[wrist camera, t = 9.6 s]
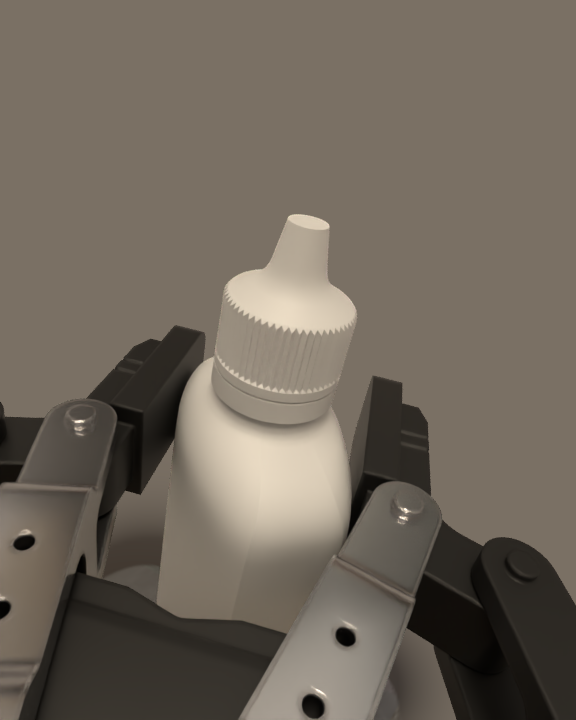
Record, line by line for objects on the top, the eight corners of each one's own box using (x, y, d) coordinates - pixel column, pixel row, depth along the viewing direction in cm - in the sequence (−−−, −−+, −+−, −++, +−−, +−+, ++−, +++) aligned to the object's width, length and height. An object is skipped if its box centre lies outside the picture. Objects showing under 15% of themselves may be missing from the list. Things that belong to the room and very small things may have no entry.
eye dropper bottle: (310, 575, 17) (435, 212, 11) (267, 774, 12) (446, 333, 6) (182, 534, 18) (233, 161, 11) (93, 712, 13) (97, 237, 7)
